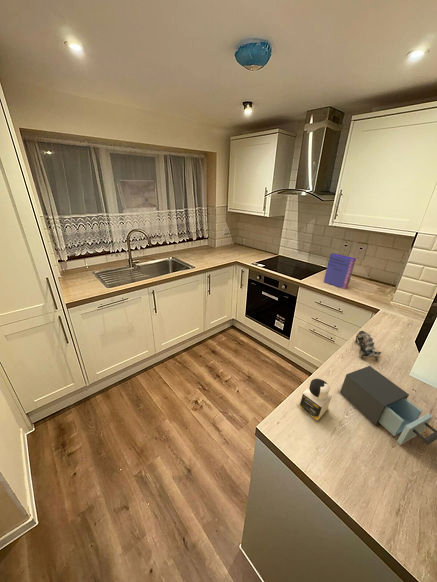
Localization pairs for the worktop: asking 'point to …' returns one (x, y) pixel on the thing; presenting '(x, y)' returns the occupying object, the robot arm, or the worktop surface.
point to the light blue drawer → (406, 421)
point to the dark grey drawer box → (371, 392)
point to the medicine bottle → (316, 398)
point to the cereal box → (339, 270)
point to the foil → (366, 341)
